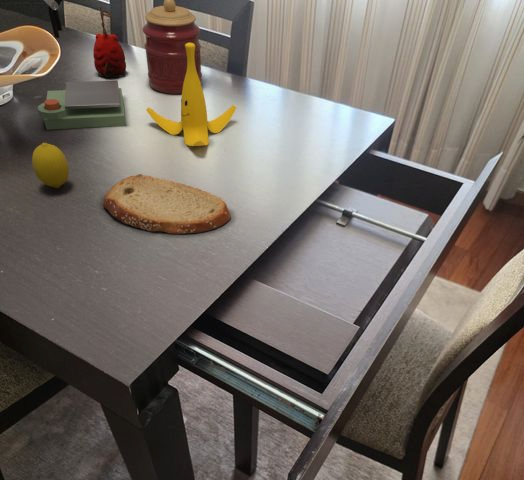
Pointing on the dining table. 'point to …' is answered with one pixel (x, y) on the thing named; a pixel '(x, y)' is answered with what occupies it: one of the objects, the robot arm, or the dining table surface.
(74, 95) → the scale pan
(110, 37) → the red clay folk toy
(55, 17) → the robot arm
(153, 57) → the kitchen canister
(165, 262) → the dining table surface
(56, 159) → the lemon
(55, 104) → the tare button
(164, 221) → the bread slice
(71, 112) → the scale
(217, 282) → the dining table surface
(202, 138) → the banana peel
